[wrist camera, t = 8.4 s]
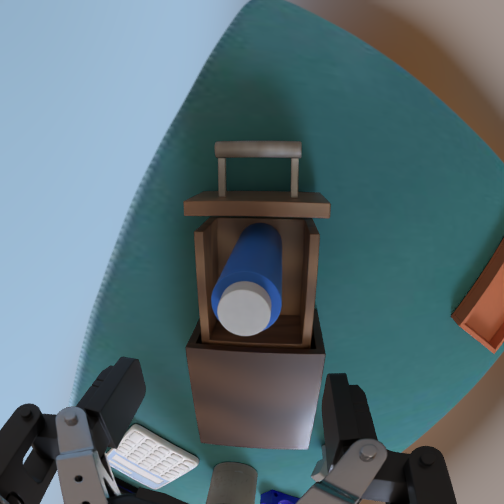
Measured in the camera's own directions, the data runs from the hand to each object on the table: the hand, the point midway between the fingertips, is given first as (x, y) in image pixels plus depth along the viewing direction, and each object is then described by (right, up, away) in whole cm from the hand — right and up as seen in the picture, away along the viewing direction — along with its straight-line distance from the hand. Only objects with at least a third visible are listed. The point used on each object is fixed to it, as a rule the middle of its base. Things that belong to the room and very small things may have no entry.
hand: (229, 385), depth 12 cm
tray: (+34, 0, +19) cm, 39 cm away
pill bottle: (+2, +6, +18) cm, 20 cm away
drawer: (+2, +7, +19) cm, 21 cm away
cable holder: (+7, -44, +36) cm, 57 cm away
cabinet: (+2, -8, +25) cm, 26 cm away
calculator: (-19, -34, +35) cm, 52 cm away
